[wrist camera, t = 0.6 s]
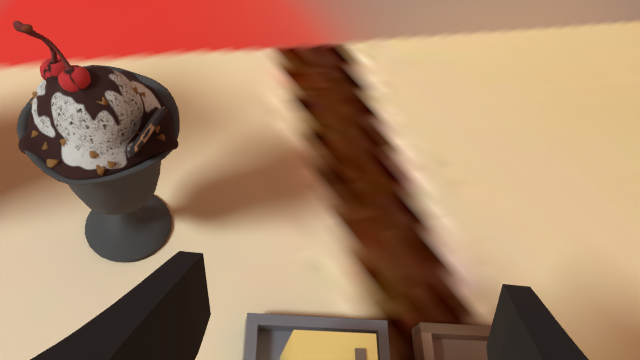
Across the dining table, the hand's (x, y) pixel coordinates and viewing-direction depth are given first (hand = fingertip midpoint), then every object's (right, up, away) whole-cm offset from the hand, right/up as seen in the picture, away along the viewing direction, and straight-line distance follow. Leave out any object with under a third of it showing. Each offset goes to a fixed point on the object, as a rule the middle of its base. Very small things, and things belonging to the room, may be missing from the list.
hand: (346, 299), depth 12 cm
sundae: (-12, 0, +18) cm, 22 cm away
